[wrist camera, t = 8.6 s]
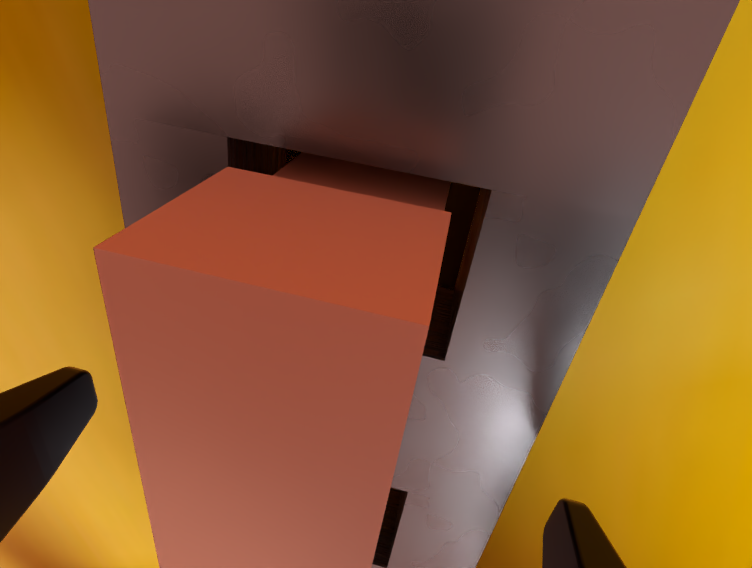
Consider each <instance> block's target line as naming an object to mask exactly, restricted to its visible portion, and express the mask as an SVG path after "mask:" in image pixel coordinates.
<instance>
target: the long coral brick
mask: <svg viewBox="0 0 752 568" xmlns="http://www.w3.org/2000/svg"><path fill="white" fill-rule="evenodd" d="M450 184H451V182H450V181H445V180H440V179H435V178H430V177H425V176H420V175H415V174H410V173H405V172H400V171H395V170H390V169H385V168H380V167H375V166H370V165H365V164H360V163H355V162H350V161H345V160H340V159H335V158H330V157H325V156H320V155H315V154H310V153H305V152H302V153H301V154H300V155H298V156H297V157H296V158H295V159H293V160H292V161H291V162H289V163H288V164H287V165H285V166H284V167H283V168H281V169H280V170H279V171H278V172H276V173H275V174H274V175H272V176H271V175H266V174H261V173H257V172H252V171H247V170H242V169H237V168H232V167H226V168H225V169H223V170H221V171H220V172H218V173H216V174H215V175H213V176H211V177H210V178H208V179H206V180H205V181H203V182H201V183H200V184H198V185H196V186H195V187H193V188H191V189H190V190H188V191H186V192H185V193H183V194H182V195H180V196H178V197H177V198H175V199H173V200H172V201H170V202H168V203H167V204H165V205H163V206H162V207H160V208H158V209H157V210H155V211H153V212H152V213H150V214H148V215H147V216H145V217H143V218H142V219H140V220H138V221H137V222H135V223H133V224H132V225H130V226H128V227H127V228H125V229H123V230H122V231H120V232H118V233H117V234H115V235H113V236H112V237H110V238H108V239H107V240H105V241H103V242H102V243H100V244H98V245H97V246H95V247H93V249H94V254H95V259H96V264H97V269H98V273H99V278H100V283H101V288H102V293H103V297H104V302H105V307H106V312H107V317H108V321H109V326H110V331H111V336H112V341H113V345H114V350H115V355H116V360H117V365H118V369H119V374H120V379H121V384H122V389H123V393H124V398H125V403H126V408H127V413H128V417H129V422H130V427H131V432H132V437H133V441H134V446H135V451H136V456H137V461H138V465H139V470H140V475H141V480H142V485H143V489H144V494H145V499H146V504H147V509H148V513H149V518H150V523H151V528H152V533H153V537H154V542H155V547H156V552H157V557H158V561H159V566H160V568H371V567H372V563H373V559H374V554H375V550H376V546H377V542H378V538H379V534H380V529H381V525H382V521H383V517H384V513H385V509H386V505H387V500H388V496H389V492H390V488H391V484H392V480H393V475H394V471H395V467H396V463H397V459H398V455H399V450H400V446H401V442H402V438H403V434H404V430H405V425H406V421H407V417H408V413H409V409H410V405H411V400H412V396H413V392H414V388H415V384H416V380H417V375H418V371H419V367H420V363H421V359H422V355H423V350H424V346H425V342H426V338H427V334H428V330H429V325H430V320H431V315H432V310H433V305H434V300H435V295H436V289H437V284H438V279H439V274H440V269H441V264H442V259H443V254H444V249H445V243H446V238H447V233H448V228H449V223H450V218H451V212H446V211H445V206H446V202H447V197H448V193H449V188H450Z"/></svg>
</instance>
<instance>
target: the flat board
mask: <svg viewBox="0 0 752 568" xmlns="http://www.w3.org/2000/svg"><path fill="white" fill-rule="evenodd" d="M739 1H740V0H88V3H89V9H90V15H91V21H92V27H93V33H94V40H95V46H96V52H97V58H98V64H99V71H100V77H101V83H102V89H103V95H104V101H105V108H106V114H107V120H108V126H109V132H110V138H111V145H112V151H113V157H114V163H115V169H116V175H117V182H118V188H119V194H120V200H121V206H122V212H123V219H124V225H125V228H127V227H128V226H130V225H132V224H133V223H135V222H137V221H138V220H140V219H142V218H143V217H145V216H147V215H148V214H150V213H152V212H153V211H155V210H157V209H158V208H160V207H162V206H163V205H165V204H167V203H168V202H170V201H172V200H173V199H175V198H177V197H178V196H180V195H182V194H183V193H185V192H186V191H188V190H190V189H191V188H193V187H195V186H196V185H198V184H200V183H201V182H203V181H205V180H206V179H208V178H210V177H211V176H213V175H215V174H216V173H218V172H220V171H221V170H223V169H225V168H226V167H232V168H237V169H242V170H247V171H252V172H257V173H261V174H266V175H271V176H272V175H274V174H275V173H276V172H278V171H279V170H280V169H281V168H283V167H284V166H285V165H286V149H290V150H295V151H300V152H305V153H310V154H315V155H320V156H325V157H330V158H335V159H340V160H345V161H350V162H355V163H360V164H365V165H370V166H375V167H380V168H385V169H390V170H395V171H400V172H405V173H410V174H415V175H420V176H425V177H430V178H435V179H440V180H445V181H450V182H455V183H460V184H465V185H470V186H475V187H480V188H481V189H480V193H479V197H478V201H477V204H476V208H475V212H474V216H473V219H472V223H471V227H470V231H469V235H468V238H467V242H466V246H465V250H464V254H463V257H462V261H461V265H460V269H459V273H458V276H457V280H456V284H455V288H454V290H453V289H449V288H444V287H440V286H437V289H436V295H435V300H434V305H433V310H432V315H431V320H430V325H429V330H428V334H427V338H426V342H425V346H424V350H423V355H422V359H421V363H420V367H419V371H418V375H417V380H416V384H415V388H414V392H413V396H412V400H411V405H410V409H409V413H408V417H407V421H406V425H405V430H404V434H403V438H402V442H401V446H400V450H399V455H398V459H397V463H396V467H395V471H394V475H393V480H392V484H391V488H390V492H389V496H388V500H387V505H386V509H385V513H384V517H383V521H382V525H381V529H380V534H379V538H378V542H377V546H376V550H375V554H374V559H373V563H372V567H371V568H476V566H477V564H478V561H479V559H480V557H481V555H482V553H483V551H484V549H485V546H486V544H487V542H488V540H489V538H490V536H491V533H492V531H493V529H494V527H495V525H496V523H497V521H498V518H499V516H500V514H501V512H502V510H503V508H504V506H505V503H506V501H507V499H508V497H509V495H510V493H511V491H512V488H513V486H514V484H515V482H516V480H517V478H518V475H519V473H520V471H521V469H522V467H523V465H524V463H525V460H526V458H527V456H528V454H529V452H530V450H531V448H532V445H533V443H534V441H535V439H536V437H537V435H538V433H539V430H540V428H541V426H542V424H543V422H544V420H545V417H546V415H547V413H548V411H549V409H550V407H551V405H552V402H553V400H554V398H555V396H556V394H557V392H558V390H559V387H560V385H561V383H562V381H563V379H564V377H565V374H566V372H567V370H568V368H569V366H570V364H571V362H572V359H573V357H574V355H575V353H576V351H577V349H578V347H579V344H580V342H581V340H582V338H583V336H584V334H585V332H586V329H587V327H588V325H589V323H590V321H591V319H592V316H593V314H594V312H595V310H596V308H597V306H598V304H599V301H600V299H601V297H602V295H603V293H604V291H605V289H606V286H607V284H608V282H609V280H610V278H611V276H612V274H613V271H614V269H615V267H616V265H617V263H618V261H619V258H620V256H621V254H622V252H623V250H624V248H625V246H626V243H627V241H628V239H629V237H630V235H631V233H632V231H633V228H634V226H635V224H636V222H637V220H638V218H639V216H640V213H641V211H642V209H643V207H644V205H645V203H646V200H647V198H648V196H649V194H650V192H651V190H652V188H653V185H654V183H655V181H656V179H657V177H658V175H659V173H660V170H661V168H662V166H663V164H664V162H665V160H666V158H667V155H668V153H669V151H670V149H671V147H672V145H673V142H674V140H675V138H676V136H677V134H678V132H679V130H680V127H681V125H682V123H683V121H684V119H685V117H686V115H687V112H688V110H689V108H690V106H691V104H692V102H693V100H694V97H695V95H696V93H697V91H698V89H699V87H700V84H701V82H702V80H703V78H704V76H705V74H706V72H707V69H708V67H709V65H710V63H711V61H712V59H713V57H714V54H715V52H716V50H717V48H718V46H719V44H720V42H721V39H722V37H723V35H724V33H725V31H726V29H727V26H728V24H729V22H730V20H731V18H732V16H733V14H734V11H735V9H736V7H737V5H738V3H739Z"/></svg>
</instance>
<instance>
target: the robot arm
mask: <svg viewBox="0 0 752 568" xmlns="http://www.w3.org/2000/svg"><path fill="white" fill-rule="evenodd" d="M97 402H98V400H97V396H96V392H95V388H94V384H93V380H92V376H91V374H90V373H89V372H88V371H86V370H82V369H79V368H75V367H64V368H61V369H59V370H56V371H54V372H51V373H49V374H47V375H44V376H42V377H39V378H37V379H34V380H32V381H29V382H27V383H24V384H22V385H19V386H17V387H14V388H12V389H10V390H7V391H5V392H2V393H0V543H1V541H2V540H3V539H4V538H5V536H6V535H7V534H8V533H9V531H10V530H11V529H12V528H13V526H14V525H15V524H16V523H17V521H18V520H19V519H20V518H21V516H22V515H23V514H24V513H25V511H26V510H27V509H28V508H29V506H30V505H31V504H32V503H33V501H34V500H35V499H36V498H37V496H38V495H39V494H40V492H41V491H42V490H43V488H44V487H45V486H46V485H47V483H48V482H49V480H50V479H51V478H52V476H53V475H54V473H55V472H56V470H57V469H58V467H59V466H60V464H61V463H62V461H63V460H64V458H65V457H66V455H67V454H68V452H69V451H70V449H71V448H72V446H73V445H74V443H75V442H76V440H77V438H78V437H79V435H80V434H81V432H82V431H83V429H84V428H85V426H86V425H87V423H88V422H89V420H90V419H91V417H92V416H93V414H94V412H95V410H96V408H97ZM542 568H626V566H625V565H624V563H623V562H622V560H621V558H620V557H619V555H618V554H617V552H616V550H615V549H614V547H613V546H612V544H611V542H610V541H609V539H608V538H607V536H606V535H605V533H604V531H603V530H602V528H601V527H600V525H599V523H598V522H597V520H596V519H595V517H594V515H593V514H592V512H591V511H590V509H589V508H588V507H587V506H586V505H585V504H583V503H580V502H577V501H573V500H569V499H565V498H563V499H561V500H559V502H558V503H557V505H556V507H555V508H554V510H553V512H552V514H551V515H550V517H549V519H548V521H547V523H546V525H545V528H544V533H543V562H542Z"/></svg>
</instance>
